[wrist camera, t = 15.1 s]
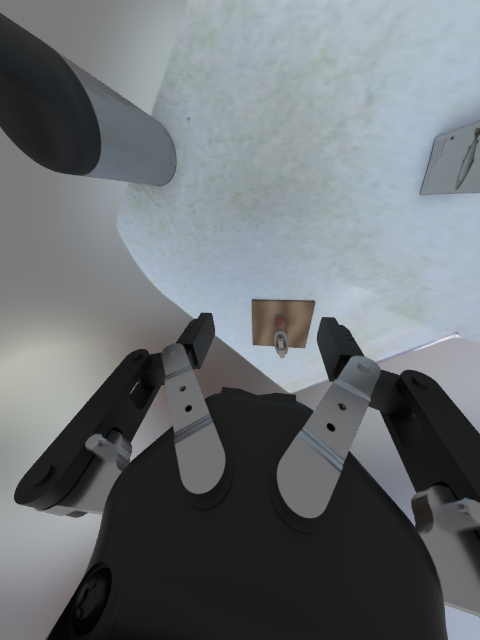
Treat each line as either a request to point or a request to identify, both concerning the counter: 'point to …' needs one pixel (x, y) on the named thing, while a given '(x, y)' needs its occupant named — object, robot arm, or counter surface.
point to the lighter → (280, 335)
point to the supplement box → (455, 163)
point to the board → (295, 317)
